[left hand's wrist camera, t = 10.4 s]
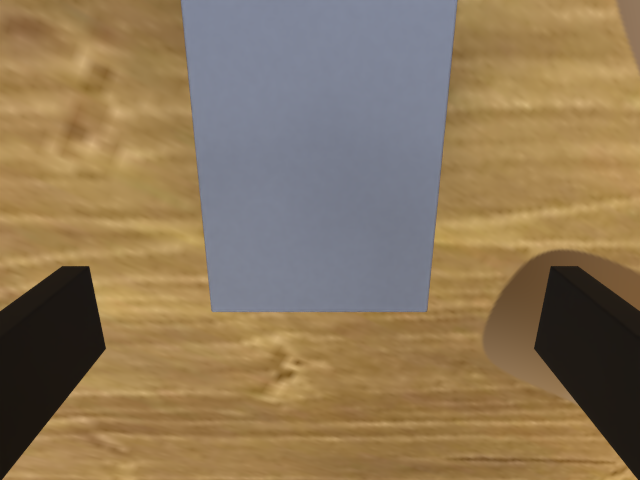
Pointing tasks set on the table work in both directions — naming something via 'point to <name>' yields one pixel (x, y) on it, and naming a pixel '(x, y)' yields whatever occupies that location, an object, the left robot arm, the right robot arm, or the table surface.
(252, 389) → the table surface
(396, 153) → the grey rectangular box
